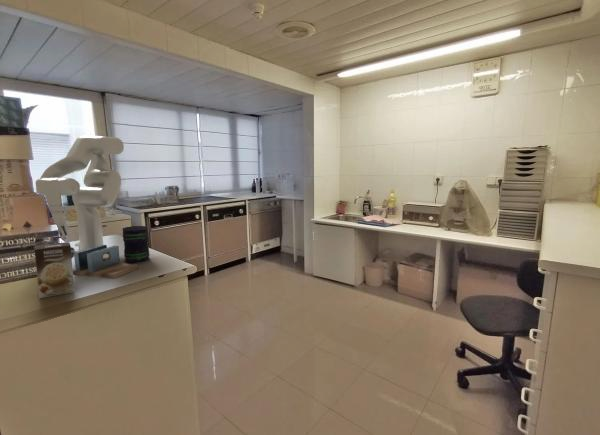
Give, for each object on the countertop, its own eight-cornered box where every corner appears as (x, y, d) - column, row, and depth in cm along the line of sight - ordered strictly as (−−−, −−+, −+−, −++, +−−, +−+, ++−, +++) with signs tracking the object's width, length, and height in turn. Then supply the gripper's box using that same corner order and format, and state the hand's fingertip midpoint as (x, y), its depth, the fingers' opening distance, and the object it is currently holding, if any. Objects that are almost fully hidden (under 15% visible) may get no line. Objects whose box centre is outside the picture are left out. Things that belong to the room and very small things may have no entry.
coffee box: (38, 299, 92) (32, 249, 90) (39, 292, 97) (32, 245, 94) (75, 291, 98) (70, 245, 96) (74, 286, 103) (69, 241, 100)
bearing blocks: (75, 270, 114) (73, 252, 112) (104, 261, 126) (102, 244, 125) (92, 272, 112) (91, 254, 111) (119, 262, 124) (118, 245, 123)
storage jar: (154, 259, 135) (152, 227, 132) (133, 265, 126) (131, 231, 124) (140, 256, 139) (138, 225, 137) (119, 261, 131) (117, 228, 128)
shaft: (58, 260, 120) (56, 248, 119) (70, 256, 125) (68, 245, 124) (103, 264, 115) (102, 252, 114) (113, 261, 120) (112, 249, 119)
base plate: (70, 273, 115) (70, 269, 115) (97, 264, 126) (97, 260, 126) (114, 278, 111) (113, 274, 110) (137, 268, 122) (137, 264, 122)
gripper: (26, 209, 118) (32, 253, 121) (56, 211, 114) (61, 256, 117) (46, 207, 125) (51, 249, 128) (74, 209, 122) (79, 252, 125)
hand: (55, 252), depth 123 cm, fingers closed
